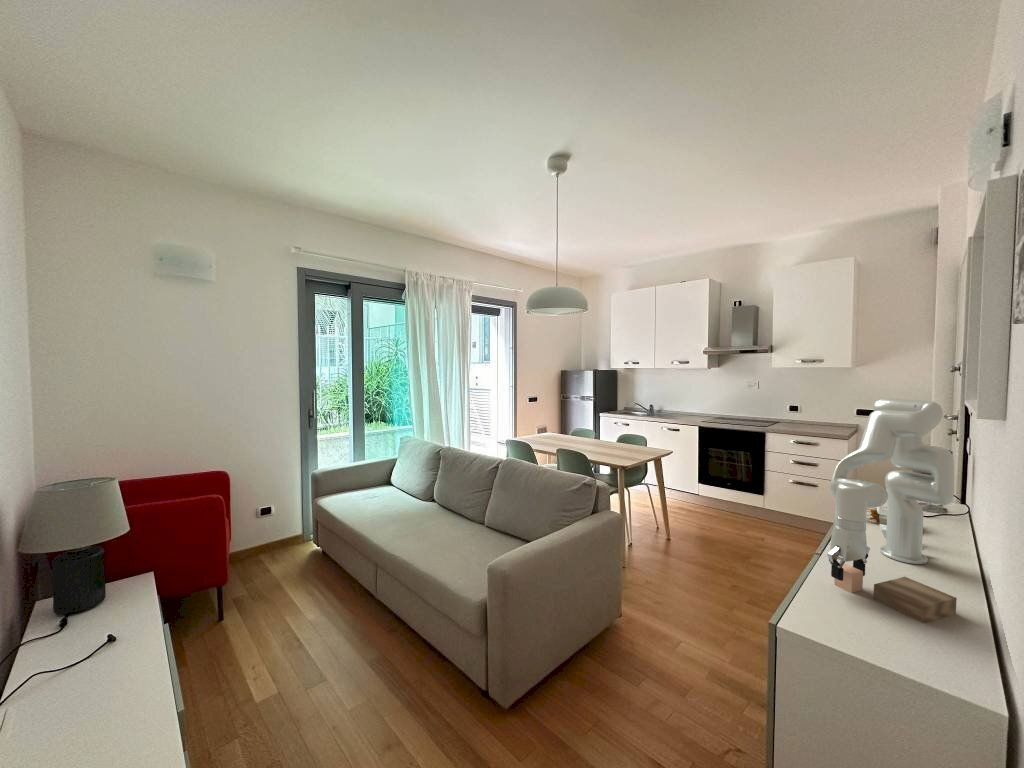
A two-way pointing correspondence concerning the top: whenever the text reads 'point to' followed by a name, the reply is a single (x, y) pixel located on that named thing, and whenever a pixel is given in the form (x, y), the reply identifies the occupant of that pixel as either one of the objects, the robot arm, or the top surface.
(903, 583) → the walnut plinth
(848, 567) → the peach block
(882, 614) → the top surface
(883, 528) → the figurine
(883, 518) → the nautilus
